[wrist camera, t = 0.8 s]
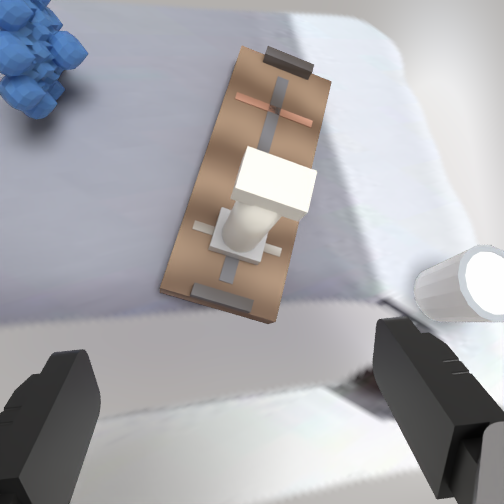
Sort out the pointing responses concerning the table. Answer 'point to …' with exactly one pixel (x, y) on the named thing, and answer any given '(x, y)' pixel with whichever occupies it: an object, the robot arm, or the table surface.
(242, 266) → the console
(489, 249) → the white cylinder
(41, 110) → the grapes
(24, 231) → the table surface
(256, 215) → the fader
